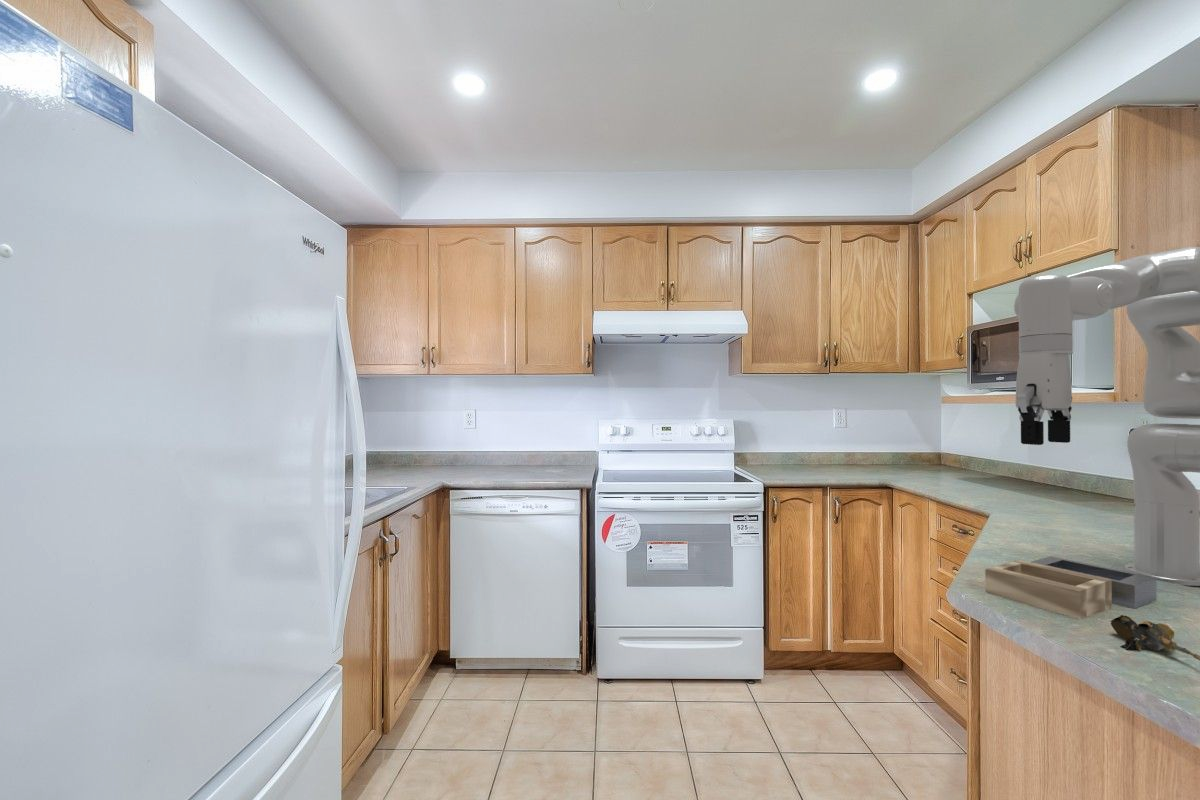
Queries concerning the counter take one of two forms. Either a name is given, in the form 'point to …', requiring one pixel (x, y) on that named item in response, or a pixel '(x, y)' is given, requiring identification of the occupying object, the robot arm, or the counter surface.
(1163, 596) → the counter surface
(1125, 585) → the gray rectangular tray
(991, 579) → the socket
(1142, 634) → the regulator
